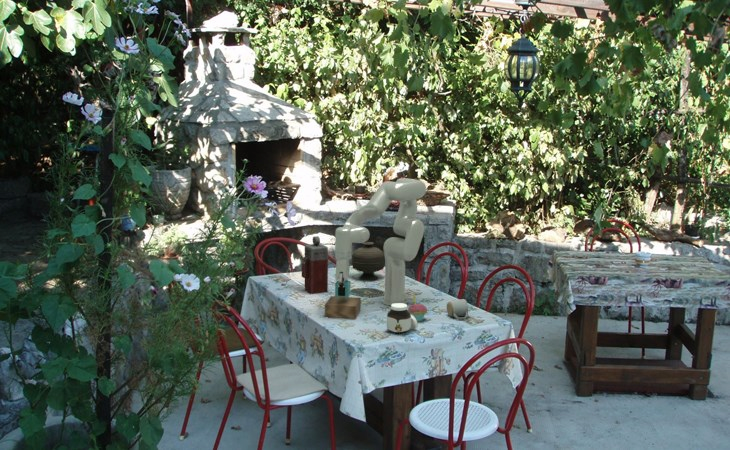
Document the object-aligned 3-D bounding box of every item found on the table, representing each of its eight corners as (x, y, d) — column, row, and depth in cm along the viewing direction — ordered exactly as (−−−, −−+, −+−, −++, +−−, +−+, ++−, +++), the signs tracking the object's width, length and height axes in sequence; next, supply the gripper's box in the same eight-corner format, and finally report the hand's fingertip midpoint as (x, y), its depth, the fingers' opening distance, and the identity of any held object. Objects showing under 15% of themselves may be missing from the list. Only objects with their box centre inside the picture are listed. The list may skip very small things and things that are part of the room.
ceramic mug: (445, 314, 355) (445, 298, 353) (461, 313, 357) (462, 296, 355) (454, 321, 345) (455, 305, 343) (471, 320, 347) (472, 303, 345)
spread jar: (384, 332, 328) (384, 306, 326) (394, 325, 338) (394, 299, 336) (410, 336, 323) (411, 309, 321) (420, 329, 333) (420, 302, 331)
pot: (343, 278, 414) (346, 241, 412) (362, 274, 429) (365, 238, 426) (371, 284, 404) (374, 246, 402) (389, 280, 419) (393, 243, 416)
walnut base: (360, 310, 359) (360, 297, 358) (355, 319, 345) (355, 306, 344) (330, 308, 361) (330, 296, 360) (324, 317, 347) (324, 304, 346)
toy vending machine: (300, 290, 391) (300, 236, 386) (320, 287, 397) (320, 234, 391) (307, 294, 384) (307, 239, 378) (327, 292, 389) (328, 237, 384)
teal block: (350, 293, 354) (350, 281, 353) (348, 297, 348) (348, 284, 347) (337, 293, 355) (337, 280, 354) (334, 296, 349) (335, 283, 348)
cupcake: (413, 323, 341) (413, 296, 339) (404, 317, 348) (405, 292, 346) (430, 321, 344) (431, 295, 342) (421, 315, 352) (422, 290, 350)
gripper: (338, 250, 357) (338, 288, 360) (331, 258, 340) (331, 298, 343) (354, 251, 356) (354, 289, 359) (348, 259, 339) (347, 299, 342)
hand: (342, 293), depth 351 cm, fingers closed on teal block, 6 cm apart
